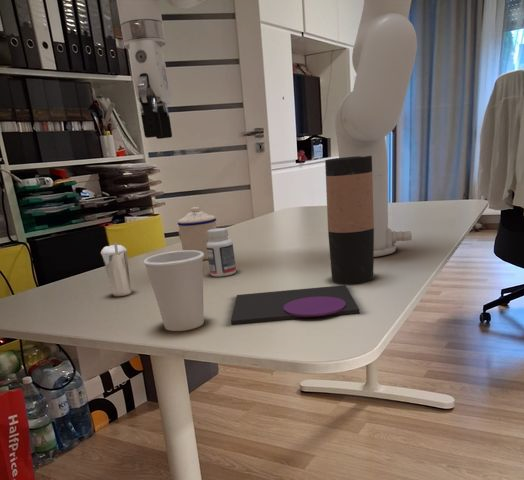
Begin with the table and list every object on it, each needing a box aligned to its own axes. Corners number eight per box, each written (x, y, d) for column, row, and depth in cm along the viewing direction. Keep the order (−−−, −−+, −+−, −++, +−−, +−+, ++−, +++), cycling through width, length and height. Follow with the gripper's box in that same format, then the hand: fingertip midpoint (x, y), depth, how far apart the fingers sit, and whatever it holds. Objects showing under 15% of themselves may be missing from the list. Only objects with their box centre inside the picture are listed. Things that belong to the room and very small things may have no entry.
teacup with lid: (228, 254, 125) (222, 204, 121) (198, 262, 119) (191, 210, 115) (197, 251, 133) (191, 204, 129) (168, 258, 128) (160, 210, 123)
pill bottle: (238, 270, 107) (233, 226, 104) (233, 276, 102) (227, 230, 99) (214, 271, 108) (208, 228, 105) (207, 277, 104) (201, 232, 100)
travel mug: (326, 284, 89) (319, 161, 82) (335, 273, 96) (330, 158, 89) (371, 284, 87) (368, 156, 79) (378, 273, 93) (375, 154, 86)
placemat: (345, 288, 86) (345, 283, 85) (361, 316, 71) (361, 310, 71) (237, 298, 87) (236, 293, 86) (230, 328, 72) (229, 321, 72)
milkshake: (113, 299, 94) (102, 244, 90) (107, 294, 98) (96, 241, 95) (138, 294, 96) (128, 240, 92) (131, 289, 100) (121, 237, 97)
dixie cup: (163, 338, 71) (150, 265, 67) (150, 323, 78) (137, 256, 74) (220, 325, 73) (211, 255, 70) (203, 312, 81) (193, 247, 77)
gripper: (153, 23, 87) (169, 134, 93) (172, 43, 103) (185, 136, 109) (109, 28, 87) (128, 138, 93) (135, 47, 103) (150, 140, 109)
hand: (159, 137), depth 101 cm, fingers open, 9 cm apart
